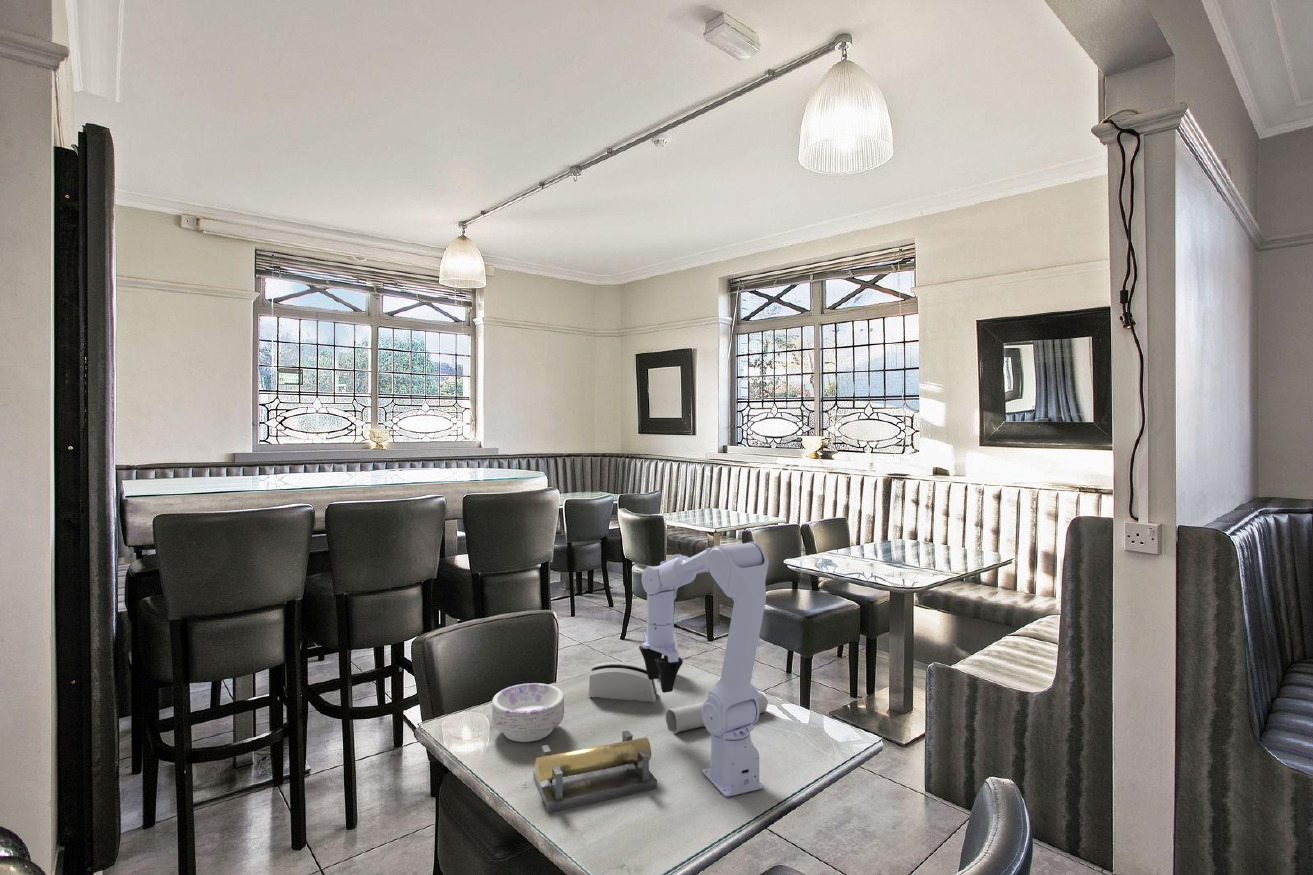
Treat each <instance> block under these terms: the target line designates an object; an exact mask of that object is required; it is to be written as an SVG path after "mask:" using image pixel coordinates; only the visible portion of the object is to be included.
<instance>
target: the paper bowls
mask: <svg viewBox="0 0 1313 875" xmlns="http://www.w3.org/2000/svg"><path fill="white" fill-rule="evenodd" d="M564 717H565V694H564V692H563V691H562V690H561V689H560V688H558V687H557V686H554V685H552V684H547V683H538V682H533V683H530V682H529V683H522V684H520V683H519V684H516V685H512V686H507V687H506V688H504V689H502V690H500V691H499V692H497V693H496V694H495V695H494V696H493V697H492V701H491V723H492V726H493V728H494V729H495V730H497V731H499V732H502V733H503V735H504V736H505V738H506V739H508V740H510V741H513V742H517V743H531V742H536V741H540V740H542V739H545V738H546V737H547V736H548V735H550V734H551V733H552V732H553V730H554V728H555V727H557V726H559V725H560V724H561V722H563V720H564Z"/></svg>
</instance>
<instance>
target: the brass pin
mask: <svg viewBox="0 0 1313 875" xmlns="http://www.w3.org/2000/svg"><path fill="white" fill-rule="evenodd" d="M640 750H645V752H646V753H647V754H648V755H649V761H650V760H651V758H652V747H651V743H650V740H649V739H648V737H641V738H635V739H633V740H629V741H624V742H622V741H619V742H614V743H608V744H603V745H598V746H593V747H592V746H591V747H587V748H581V749H577V750H572V751H567V752H565V751H564V752H560V753H556V754H551V755H549V756H544V757H541V756H540V757H535V761H534V762H535V766H534V770H535V771H536V778H537V781H538V783H539V782H544V781H549V780H552V768H553V767H558V766H559V767H560V769H561V771H562V773H563V778H564V777H569V776H574V775H579V774H584V773H589V772H594V771H599V770H604V769H609V768H614V767H619V766H624V765H628V764H633V763H638V751H640Z"/></svg>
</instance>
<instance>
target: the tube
mask: <svg viewBox="0 0 1313 875" xmlns="http://www.w3.org/2000/svg"><path fill="white" fill-rule="evenodd" d="M758 692H759V698H758V705H759V714H762V713H764V712H765V711H766V710H767V708H768V705H769V701H768V699H767V697H766V695H764V693H763V692H762V691H761V692H760V691H758ZM704 703H705V701H704V702H698V703H695V704H690V705H686V706H684V705H683V706H680V707H675V708H672V707H671V708H670V707H669V709H667V710H665V723H666V726H667V730H668V731H669V732H670V733H671V734H673V735H676V734H678V733H682V732H686V731H690V730H695V729H699V728H704V727H705V725H704V723H703V719H702V707H703V704H704Z"/></svg>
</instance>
